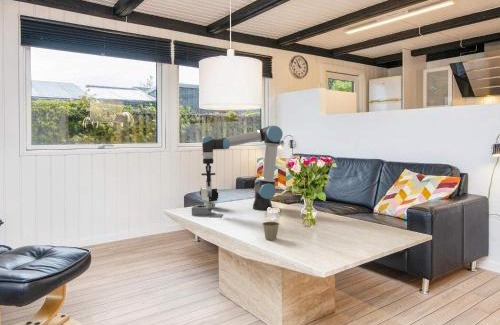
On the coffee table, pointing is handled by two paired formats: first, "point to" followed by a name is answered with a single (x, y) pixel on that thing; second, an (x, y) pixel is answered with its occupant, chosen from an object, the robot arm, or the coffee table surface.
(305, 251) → the coffee table surface
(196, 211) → the chuck
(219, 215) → the pad
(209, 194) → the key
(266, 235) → the flower pot
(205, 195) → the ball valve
